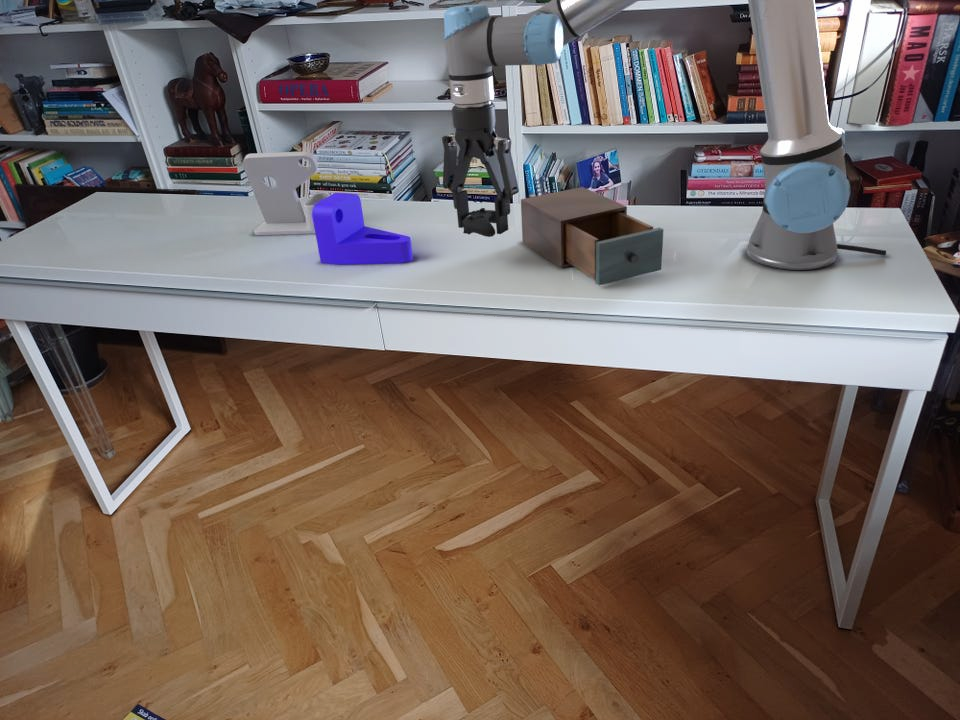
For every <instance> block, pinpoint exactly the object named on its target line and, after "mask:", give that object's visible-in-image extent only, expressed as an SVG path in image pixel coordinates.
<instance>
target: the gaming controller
mask: <svg viewBox="0 0 960 720" xmlns="http://www.w3.org/2000/svg"><path fill="white" fill-rule="evenodd" d="M493 224H496V215H495V209H494V210H493V209H486V208H485V207H481V208H479V209H476V210H472V211H469V214H467V216H466V218H465V219H464V220H463V221H462V225H463V232H462V233H463V234H467V235H471V234H477V235H479V236H482V237H487V238H491V237H495V235H496V229H495V226H494V225H493Z"/></svg>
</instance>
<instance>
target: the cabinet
mask: <svg viewBox="0 0 960 720" xmlns="http://www.w3.org/2000/svg"><path fill="white" fill-rule="evenodd" d="M520 210H521V211H520V213H521V215H520V216H521V237H522V244H523V245H525V246H527V248H530V249H531V250H533V251H534V252H536V253H538V255H540V256H542V257H544V258H545V259H547V260H548V261H550V262H551V263H552V264H555V265H556V266H558V267H559V268H561V269H564V268H568V267H573V265H571V264H569V263H568V262H566V261H565V260H564V224H563V223H568V222H572V221H577V220H581V219H586V218H590V217H595V216H600V215H604V214H609V213H613V212H618V211H620V212H622V213H624V214H626V215H628V206H627V205H624V204H622V203H621V202H620V203H619V202H617V201H616V200H613V199H610V198H609V197H606V196H604V195H602V194H600V193H597V192H595V191H593V190H590V189H588V188H586V187H584V186H580V187H576V188H570V189H565V190H561V191H560V190H559V191H555V192H550V193H546V194H541V195H536V196H535V195H534V196H530V197H525V198H521V199H520Z"/></svg>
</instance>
